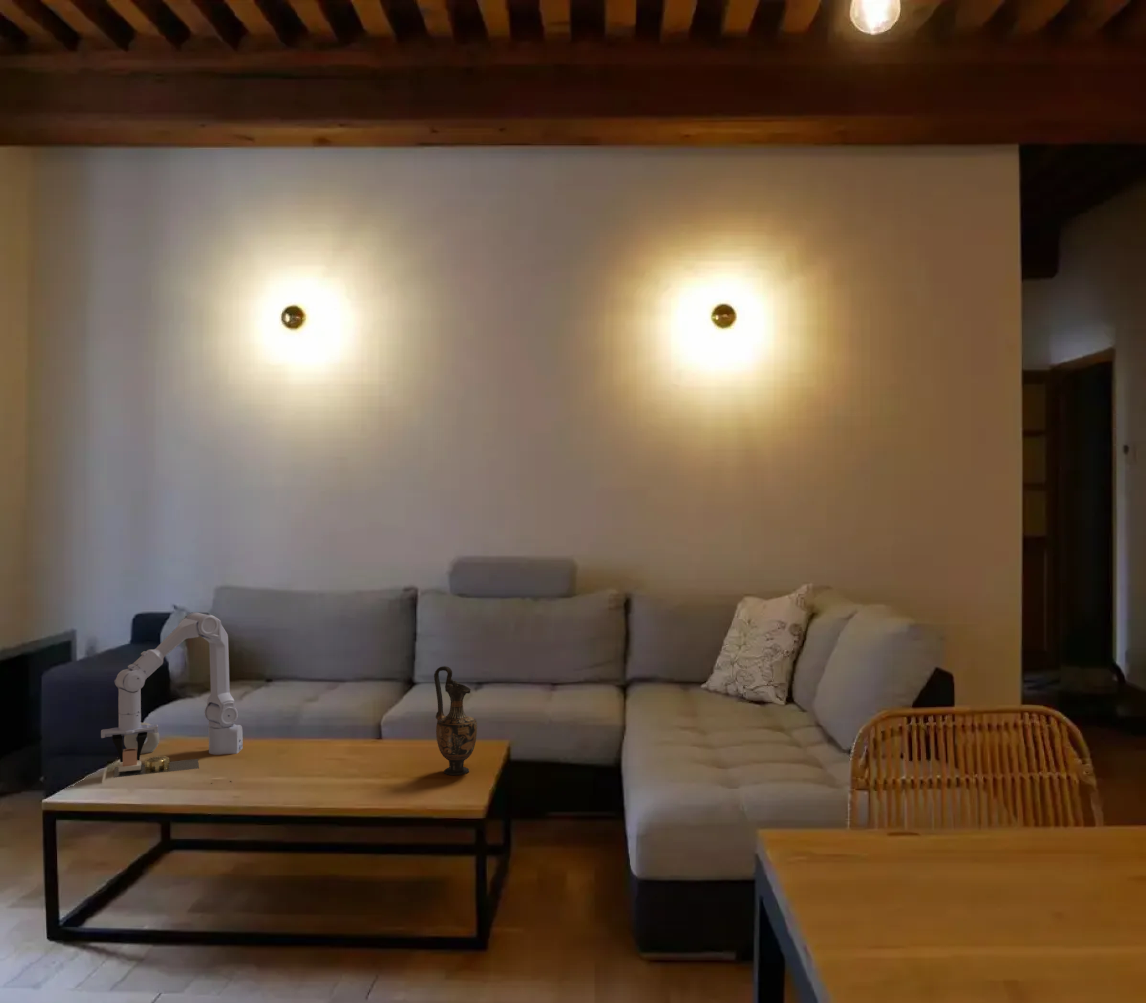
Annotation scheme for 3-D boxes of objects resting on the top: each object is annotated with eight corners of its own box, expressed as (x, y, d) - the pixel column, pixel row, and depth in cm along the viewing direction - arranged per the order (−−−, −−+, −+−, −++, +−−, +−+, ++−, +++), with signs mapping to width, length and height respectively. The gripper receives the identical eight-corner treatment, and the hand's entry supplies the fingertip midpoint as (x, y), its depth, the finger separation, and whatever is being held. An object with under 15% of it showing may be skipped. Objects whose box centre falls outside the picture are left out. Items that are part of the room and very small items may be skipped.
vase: (469, 778, 264) (469, 671, 263) (427, 776, 266) (427, 669, 266) (482, 766, 275) (482, 664, 275) (441, 764, 278) (441, 662, 277)
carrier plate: (197, 762, 279) (197, 748, 279) (199, 771, 270) (199, 757, 270) (115, 771, 270) (115, 757, 270) (113, 781, 261) (113, 766, 261)
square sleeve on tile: (141, 765, 271) (141, 746, 271) (140, 769, 266) (140, 751, 266) (119, 767, 269) (119, 748, 269) (118, 771, 264) (118, 753, 264)
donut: (122, 758, 283) (122, 724, 283) (125, 754, 287) (125, 722, 286) (158, 756, 285) (158, 723, 285) (160, 753, 289) (160, 720, 289)
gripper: (100, 718, 261) (100, 767, 261) (157, 713, 266) (157, 761, 267) (101, 712, 267) (102, 760, 267) (157, 707, 273) (158, 754, 273)
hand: (130, 760), depth 267 cm, fingers closed on square sleeve on tile, 4 cm apart
